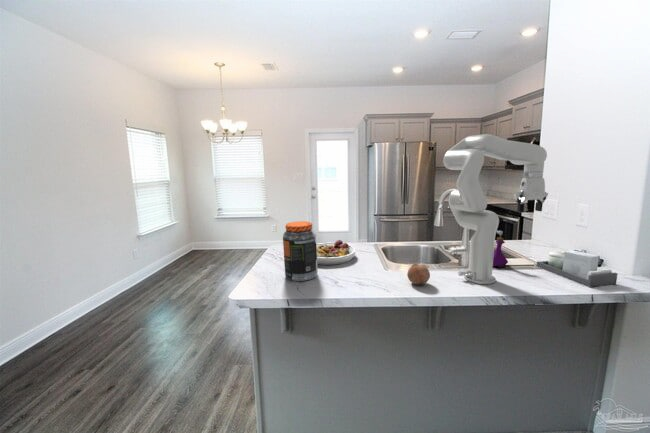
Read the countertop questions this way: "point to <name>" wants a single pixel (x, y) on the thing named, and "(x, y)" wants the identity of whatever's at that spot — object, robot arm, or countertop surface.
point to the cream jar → (556, 259)
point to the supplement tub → (300, 251)
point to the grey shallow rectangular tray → (592, 279)
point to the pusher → (599, 272)
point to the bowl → (334, 253)
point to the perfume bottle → (499, 252)
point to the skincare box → (579, 263)
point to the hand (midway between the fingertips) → (529, 211)
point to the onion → (418, 274)
